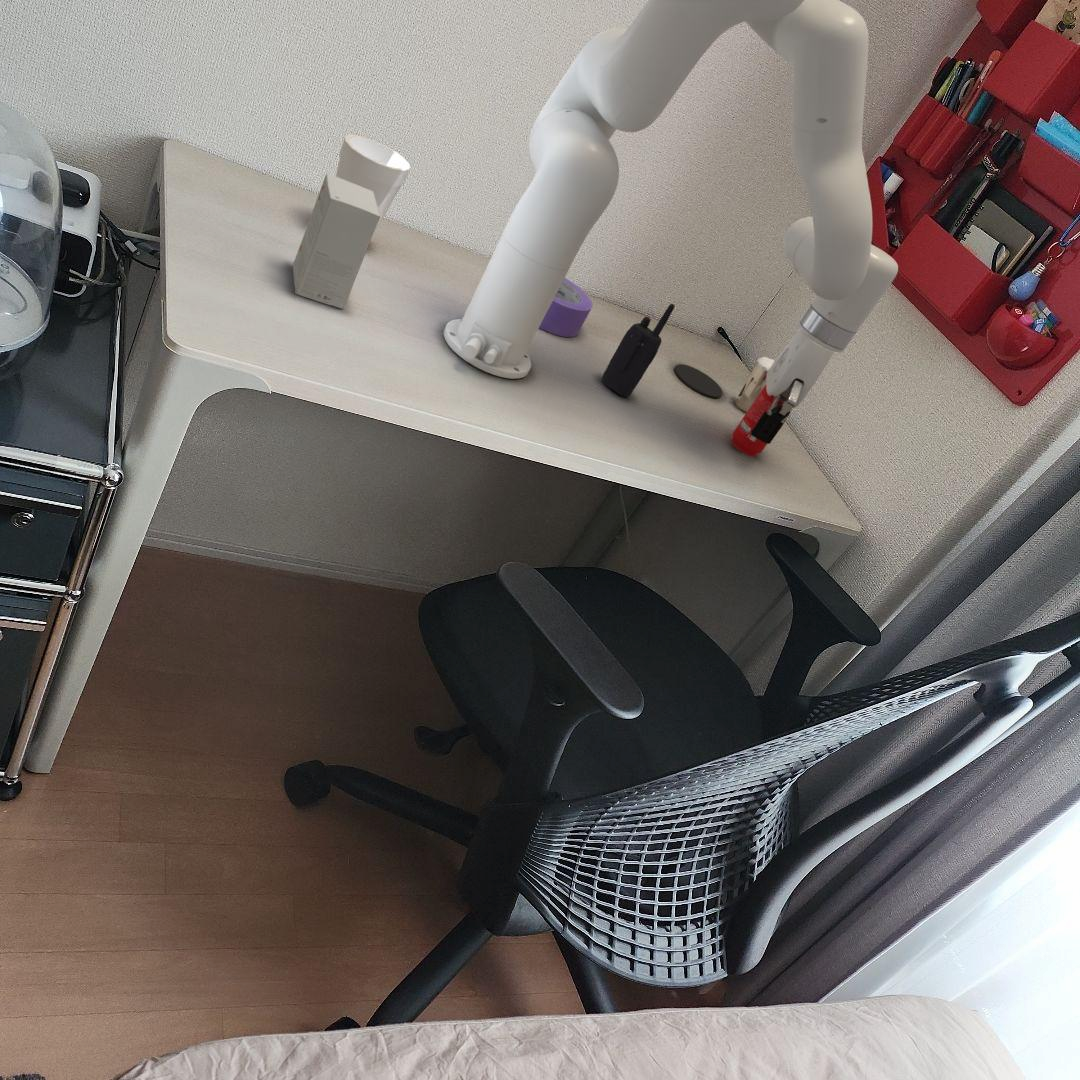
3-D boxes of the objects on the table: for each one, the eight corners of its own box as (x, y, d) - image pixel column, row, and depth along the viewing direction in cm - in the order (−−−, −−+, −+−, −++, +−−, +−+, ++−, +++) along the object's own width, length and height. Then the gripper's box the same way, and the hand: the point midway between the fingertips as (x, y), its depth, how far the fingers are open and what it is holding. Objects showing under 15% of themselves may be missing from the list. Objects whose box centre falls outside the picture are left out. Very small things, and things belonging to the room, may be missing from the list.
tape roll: (567, 345, 151) (583, 316, 149) (501, 305, 151) (515, 276, 149) (585, 325, 161) (600, 298, 159) (523, 288, 161) (536, 260, 159)
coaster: (720, 405, 162) (721, 403, 161) (671, 378, 161) (673, 376, 161) (722, 385, 169) (723, 384, 169) (676, 359, 169) (677, 357, 168)
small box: (343, 310, 125) (381, 216, 119) (294, 294, 123) (329, 197, 116) (339, 281, 131) (374, 190, 125) (291, 265, 129) (325, 171, 122)
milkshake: (759, 421, 164) (794, 371, 159) (731, 406, 164) (765, 355, 158) (758, 410, 168) (792, 361, 163) (730, 395, 167) (764, 345, 162)
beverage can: (725, 432, 153) (769, 367, 147) (753, 444, 155) (797, 380, 149) (733, 451, 149) (779, 384, 143) (762, 462, 151) (808, 397, 145)
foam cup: (388, 252, 147) (422, 170, 140) (350, 257, 139) (384, 170, 132) (340, 218, 149) (371, 135, 142) (300, 221, 141) (331, 133, 134)
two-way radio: (634, 398, 147) (686, 310, 139) (618, 401, 144) (672, 311, 136) (606, 376, 149) (657, 288, 141) (591, 378, 145) (642, 289, 138)
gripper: (801, 298, 148) (738, 393, 157) (805, 334, 134) (736, 436, 142) (844, 323, 149) (780, 416, 158) (853, 361, 134) (782, 462, 143)
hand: (759, 425), depth 150 cm, fingers open, 9 cm apart
